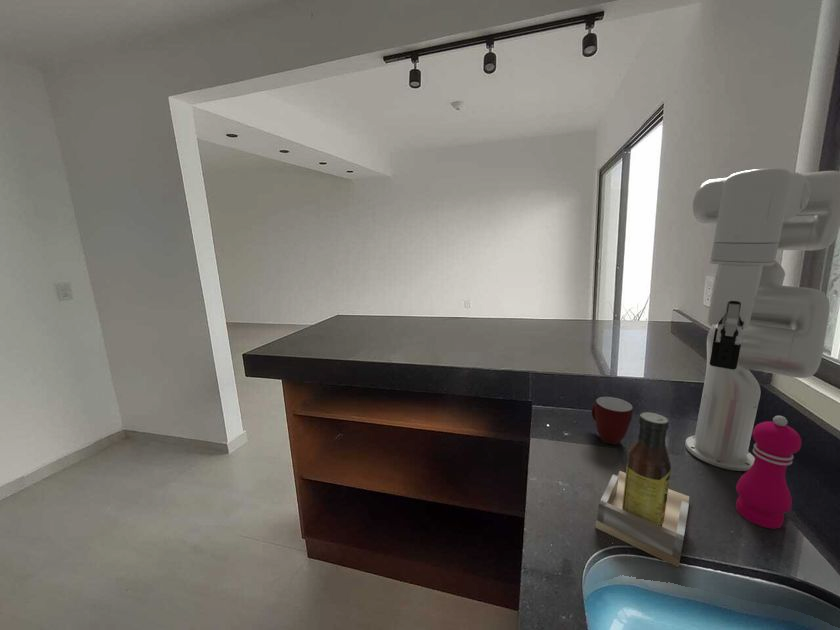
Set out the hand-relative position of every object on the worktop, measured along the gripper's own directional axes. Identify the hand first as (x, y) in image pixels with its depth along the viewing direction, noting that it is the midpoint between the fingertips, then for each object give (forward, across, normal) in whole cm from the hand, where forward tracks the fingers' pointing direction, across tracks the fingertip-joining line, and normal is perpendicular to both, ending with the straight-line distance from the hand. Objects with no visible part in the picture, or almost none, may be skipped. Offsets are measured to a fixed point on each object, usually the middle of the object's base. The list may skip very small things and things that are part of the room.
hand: (722, 358), depth 59 cm
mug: (+31, -17, -19) cm, 40 cm away
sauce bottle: (+29, +10, -7) cm, 32 cm away
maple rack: (+30, +6, -7) cm, 32 cm away
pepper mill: (+31, -7, +9) cm, 33 cm away
